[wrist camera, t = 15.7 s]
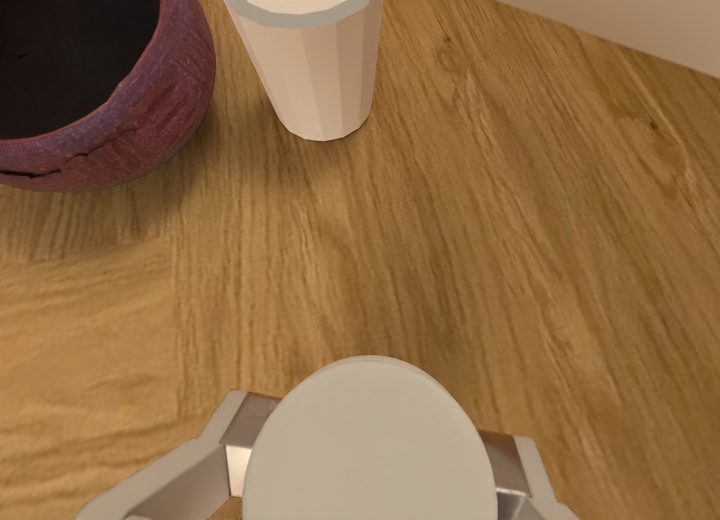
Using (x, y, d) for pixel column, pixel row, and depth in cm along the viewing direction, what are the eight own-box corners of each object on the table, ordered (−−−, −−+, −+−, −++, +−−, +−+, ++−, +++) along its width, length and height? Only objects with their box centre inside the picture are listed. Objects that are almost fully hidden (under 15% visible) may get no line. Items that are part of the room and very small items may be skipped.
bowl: (288, 127, 20) (238, -31, 13) (82, 274, 17) (-133, 179, 10) (145, -3, 25) (48, -174, 18) (-36, 96, 22) (-242, -59, 15)
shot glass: (250, 82, 22) (198, -54, 15) (353, 46, 23) (346, -98, 16) (289, 167, 19) (247, 49, 13) (403, 123, 20) (418, -10, 14)
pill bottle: (284, 416, 14) (167, 436, 6) (389, 349, 14) (407, 287, 7) (349, 547, 12) (305, 808, 4) (461, 463, 13) (596, 555, 5)
